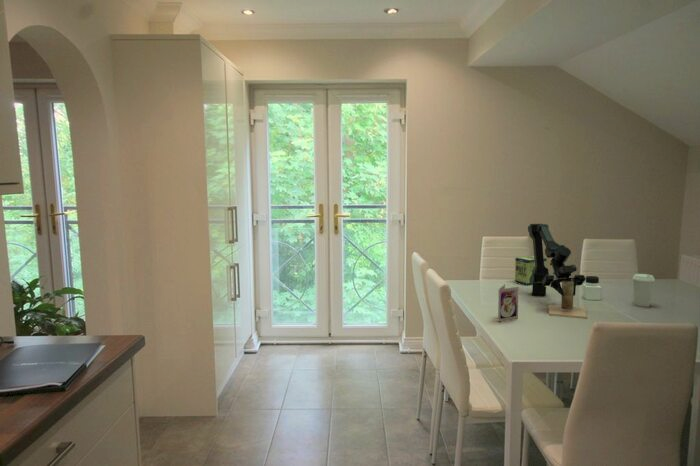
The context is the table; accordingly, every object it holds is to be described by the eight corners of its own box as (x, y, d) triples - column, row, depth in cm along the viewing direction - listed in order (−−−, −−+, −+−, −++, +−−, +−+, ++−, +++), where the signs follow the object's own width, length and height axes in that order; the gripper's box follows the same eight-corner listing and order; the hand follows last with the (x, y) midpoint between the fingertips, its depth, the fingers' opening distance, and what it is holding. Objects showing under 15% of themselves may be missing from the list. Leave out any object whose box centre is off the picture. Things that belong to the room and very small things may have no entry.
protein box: (514, 282, 286) (514, 257, 284) (533, 280, 292) (534, 255, 290) (527, 285, 276) (527, 260, 275) (546, 283, 282) (547, 258, 281)
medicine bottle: (601, 300, 240) (602, 277, 239) (586, 300, 242) (587, 277, 241) (596, 297, 247) (597, 275, 246) (582, 296, 249) (583, 274, 247)
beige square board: (548, 315, 216) (548, 313, 216) (548, 306, 231) (548, 304, 231) (587, 318, 210) (587, 316, 210) (584, 309, 225) (584, 307, 224)
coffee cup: (646, 308, 224) (647, 278, 222) (626, 304, 233) (628, 274, 231) (657, 305, 229) (659, 275, 227) (638, 301, 237) (639, 272, 235)
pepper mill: (559, 308, 220) (560, 281, 219) (564, 306, 224) (565, 279, 222) (569, 310, 217) (570, 283, 215) (574, 308, 220) (575, 281, 218)
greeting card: (499, 322, 206) (500, 289, 204) (488, 318, 213) (488, 286, 211) (519, 319, 210) (520, 287, 209) (507, 315, 217) (508, 283, 216)
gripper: (545, 258, 222) (554, 286, 212) (584, 258, 221) (595, 286, 212) (538, 271, 230) (546, 299, 221) (576, 271, 230) (586, 298, 220)
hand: (568, 295), depth 218 cm, fingers closed on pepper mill, 5 cm apart
